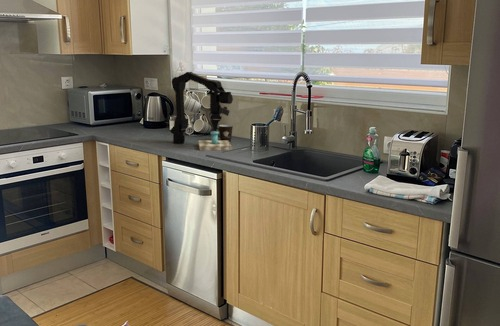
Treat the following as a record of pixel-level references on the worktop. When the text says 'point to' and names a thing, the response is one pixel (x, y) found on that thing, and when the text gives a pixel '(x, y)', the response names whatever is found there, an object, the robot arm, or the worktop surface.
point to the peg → (214, 137)
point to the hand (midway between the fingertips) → (214, 129)
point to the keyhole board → (214, 145)
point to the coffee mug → (225, 132)
